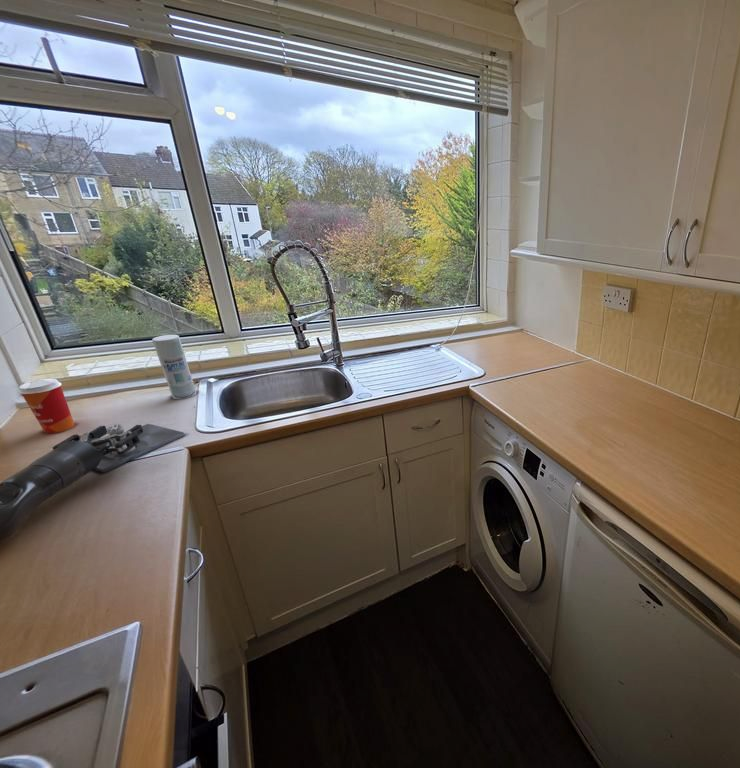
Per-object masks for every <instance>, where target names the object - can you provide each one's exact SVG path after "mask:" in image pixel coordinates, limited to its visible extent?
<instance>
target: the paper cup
mask: <svg viewBox="0 0 740 768" xmlns="http://www.w3.org/2000/svg"><path fill="white" fill-rule="evenodd" d="M62 385H63V383H62V382H60V381H59V380H58V379H56V378H42V379H38V380H33V381H32V382H31V381H28V382H26V383H25V382H24V383H22V384H21V385H19V386H18V388H19V390H18V394H20V395H22V397H23V399H24V401H25V402H26V404H27V405H28V407H29V409H30V411H31V412H32V414H33V415H34V417H35V419H36V421H37V422H38V423H39V425H40V427H41V428H42V430H43V431H44V433H45V434H57V433H62V432H65V431H68V430H70V429H72V428H73V427H75V422H74V418H73V416H72V412H71V410H70V408H69V405H68V402H67V399H66V396H65V394H64V391H63V388H62Z"/></svg>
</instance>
